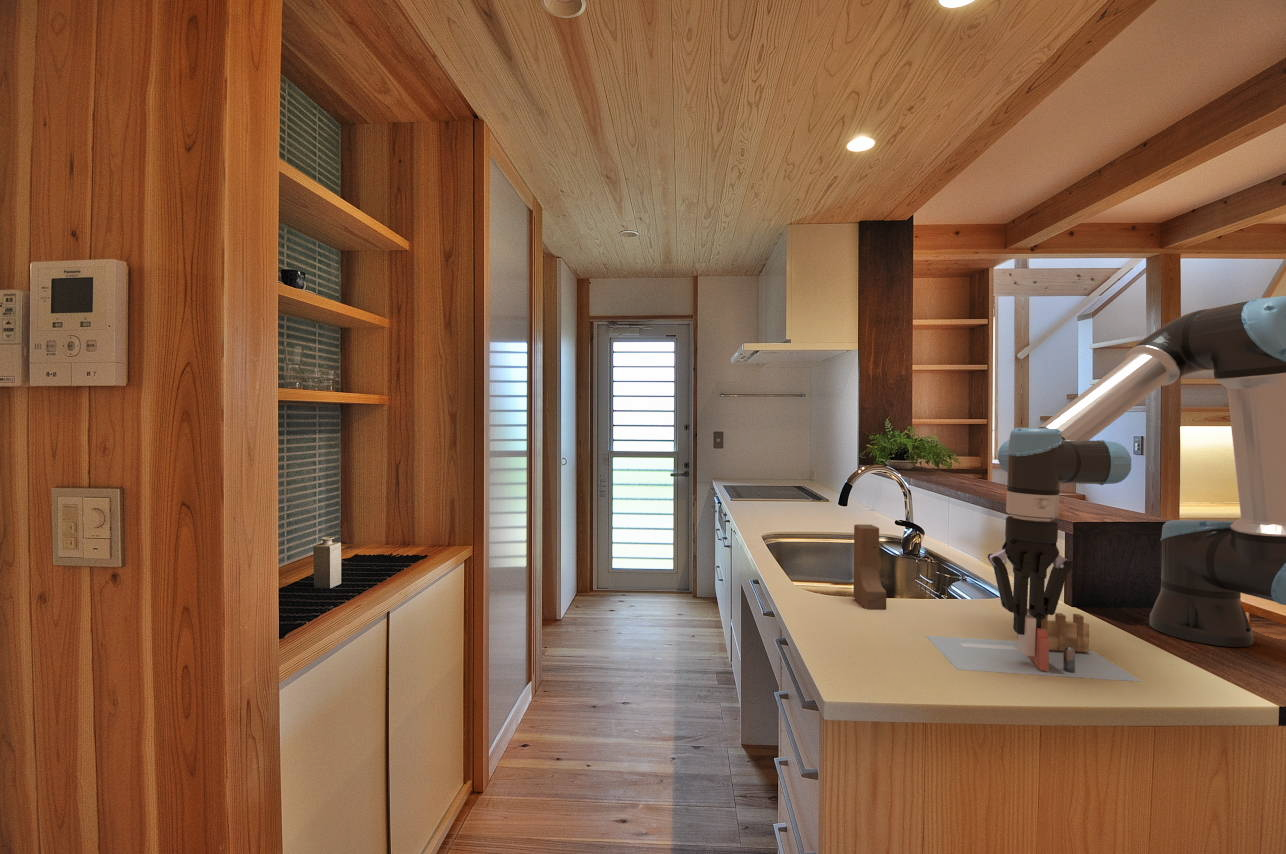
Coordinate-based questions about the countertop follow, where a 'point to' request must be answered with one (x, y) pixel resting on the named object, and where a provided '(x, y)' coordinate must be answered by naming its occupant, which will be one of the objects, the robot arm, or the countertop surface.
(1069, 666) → the peg
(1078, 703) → the countertop surface
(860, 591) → the wooden block
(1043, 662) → the fence panel
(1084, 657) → the card
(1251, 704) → the countertop surface
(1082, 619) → the fence fixed
